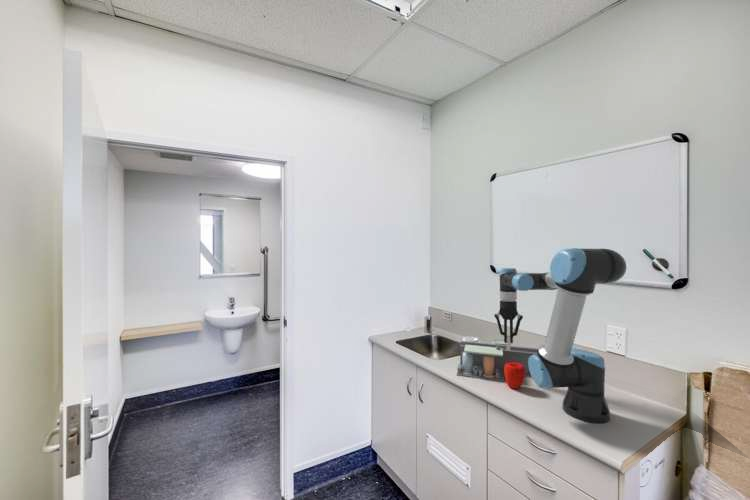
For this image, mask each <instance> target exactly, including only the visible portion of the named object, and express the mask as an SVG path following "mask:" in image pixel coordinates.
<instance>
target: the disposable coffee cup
mask: <svg viewBox="0 0 750 500" xmlns="http://www.w3.org/2000/svg"><path fill="white" fill-rule="evenodd" d="M491 344H498V345H507V343H505V342H504V339H493V340H492V342H491ZM510 346H512V344H510Z"/></svg>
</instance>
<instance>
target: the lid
mask: <svg viewBox="0 0 750 500" xmlns="http://www.w3.org/2000/svg"><path fill="white" fill-rule="evenodd" d="M464 352H467V353H476V354H485V355H493V356H502V357H503V350H502V348H500V347H499V346H496V348H495V347H485V346H476V345H465V348H464Z"/></svg>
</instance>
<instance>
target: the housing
mask: <svg viewBox="0 0 750 500" xmlns="http://www.w3.org/2000/svg"><path fill="white" fill-rule="evenodd" d="M465 345H476V346H485V347H495V348H496V346H499V347H500V348H502V350H503V357H502V356H494V376H486V375H484V374H483V355H484V354H476V353H467V352H464V348H465ZM459 348H460V350H459V351H460V352H459V354H460V358H459V359H460V361H459V364H458V365H457V373H456V376H459V377H465V378H471V379H473V378H474V379H480V380H486V381H487V380H488V381H495V382H505V380H504V379H505V375H504V367H505V364H507V363H511V362H515V363H519V364H521V365H523V366H524V368H525V374H530V371H529V366H528V360H529V357H530V356H532V355H534V354H535V355H537V353H538V349H539V347H538V348H536V347H525V346H518V345H517V346H516V345H515V346H514V345H511V346H510V351H507V345H498V344H492V343H488V342H487V343H486V342H482V343H480V342H479V341H478V342H468V341H463V340H460V345H459ZM530 375H531V374H530Z"/></svg>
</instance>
